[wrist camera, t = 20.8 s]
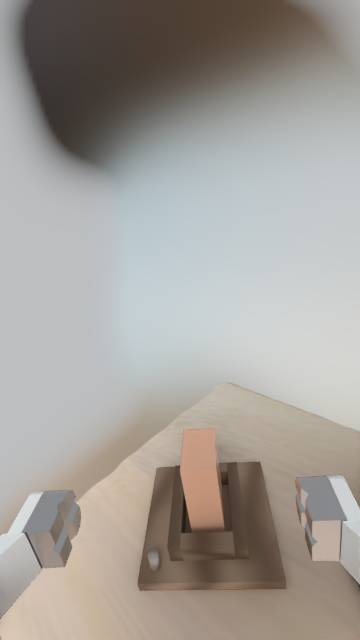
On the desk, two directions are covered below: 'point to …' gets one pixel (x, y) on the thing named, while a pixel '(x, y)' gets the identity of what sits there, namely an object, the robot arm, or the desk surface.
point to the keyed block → (202, 481)
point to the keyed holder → (212, 537)
